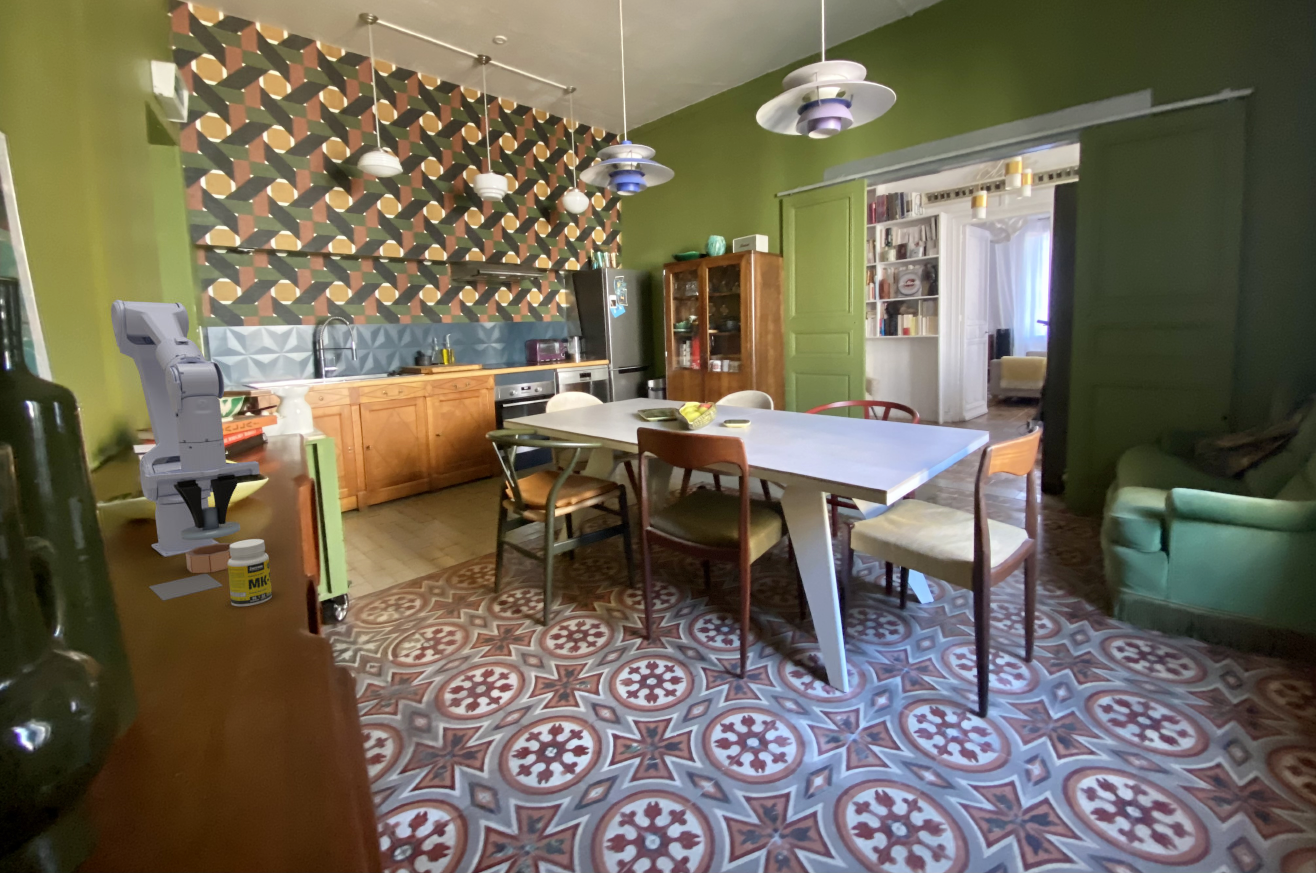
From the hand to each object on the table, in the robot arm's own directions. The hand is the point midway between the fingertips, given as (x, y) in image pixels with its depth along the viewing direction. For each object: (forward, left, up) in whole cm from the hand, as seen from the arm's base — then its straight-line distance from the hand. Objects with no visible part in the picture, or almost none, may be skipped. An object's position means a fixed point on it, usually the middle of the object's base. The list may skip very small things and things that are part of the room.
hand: (210, 525), depth 98 cm
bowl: (0, 0, -7) cm, 7 cm away
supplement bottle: (+20, -1, -7) cm, 22 cm away
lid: (0, 0, -1) cm, 1 cm away
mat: (+7, -6, -7) cm, 12 cm away
